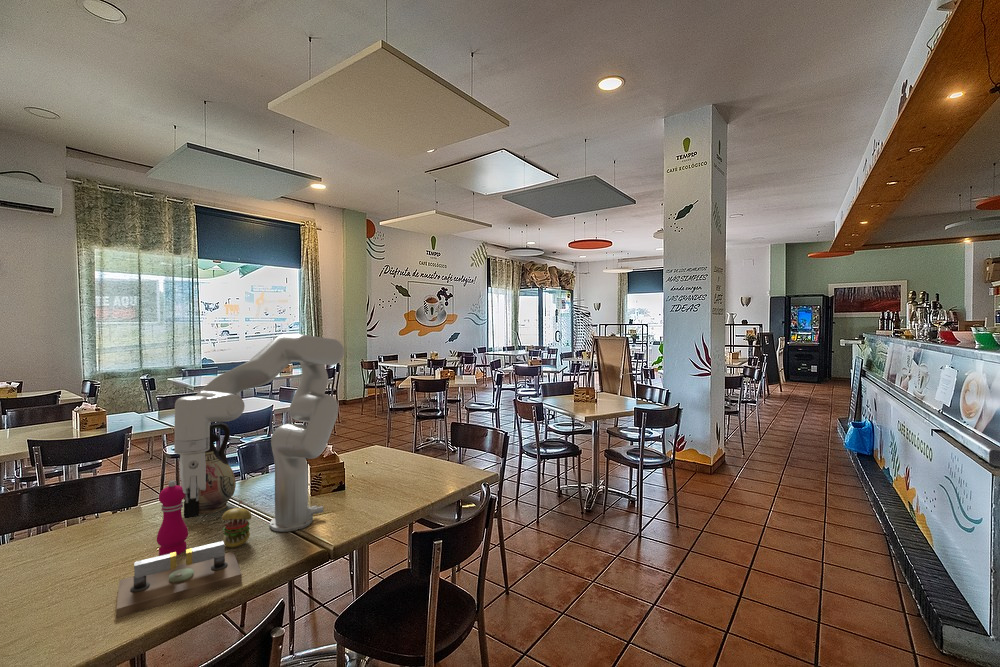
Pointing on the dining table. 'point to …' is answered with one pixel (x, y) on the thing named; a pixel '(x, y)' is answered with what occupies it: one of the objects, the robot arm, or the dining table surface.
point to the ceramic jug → (217, 475)
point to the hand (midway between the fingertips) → (191, 516)
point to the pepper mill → (172, 521)
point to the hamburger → (236, 526)
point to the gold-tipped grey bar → (206, 554)
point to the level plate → (176, 584)
